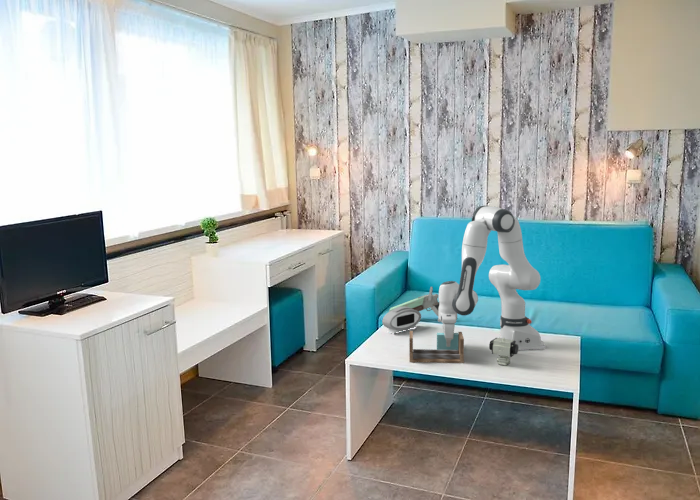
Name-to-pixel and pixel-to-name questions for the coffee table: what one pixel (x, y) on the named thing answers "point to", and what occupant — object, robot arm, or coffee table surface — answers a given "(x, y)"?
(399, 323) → the alarm clock
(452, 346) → the door panel
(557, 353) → the coffee table surface
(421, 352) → the cabinet base
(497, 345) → the pneumatic valve
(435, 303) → the ray gun
